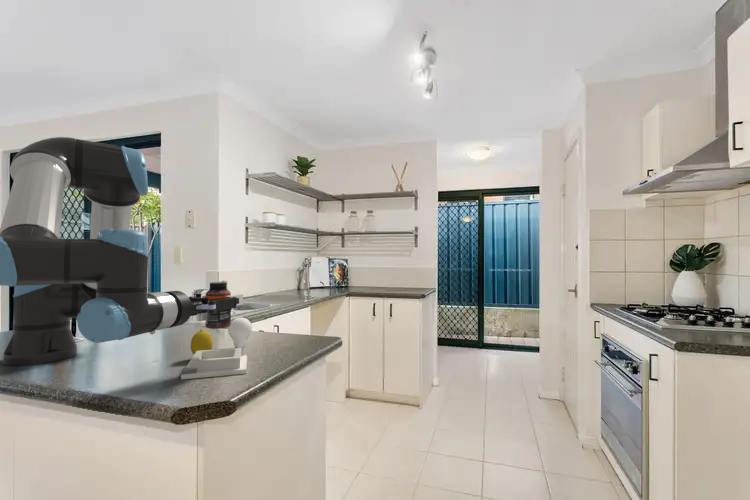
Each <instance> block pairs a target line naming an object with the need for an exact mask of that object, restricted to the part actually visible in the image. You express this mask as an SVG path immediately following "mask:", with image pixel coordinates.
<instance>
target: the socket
mask: <svg viewBox="0 0 750 500" xmlns="http://www.w3.org/2000/svg"><path fill="white" fill-rule="evenodd" d="M247 366H248V354H244V355H242V356H241V348H235V347H233V348H218V349H217V348H216V349H211V350H200V351H196V353H195V354H193V356H192V357H191V359H190V361H189V362H188V364H187V365H186V367H184V368H182V370H181V374H180V380H190V379H191V380H192V379H201V378H203V379H204V378H211V377H212V378H213V377H223V376H234V375H244V374H245V375H246V374H247V368H248V367H247Z"/></svg>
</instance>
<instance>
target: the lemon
mask: <svg viewBox="0 0 750 500" xmlns="http://www.w3.org/2000/svg"><path fill="white" fill-rule="evenodd" d="M213 343H214V341H213V338H212V335H211V334H210V332H208V331H206V330H204V329H200V330H199V331H197V332H195V334H193V336H192V338H191V339H190V350H191V351H190V352H192V354H193V355H194V354H195V353H196V351H200V350H213V349H212V348H213Z"/></svg>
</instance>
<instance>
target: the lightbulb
mask: <svg viewBox="0 0 750 500" xmlns="http://www.w3.org/2000/svg"><path fill="white" fill-rule="evenodd" d="M227 330H228V335H229V337H230V338H231V340H232V342H233V346H234V348H241V356H242V355H246V344H247V340H248V338H250V335H251V334H252V331H253V326H252V323H251V322H250V320H249V319H247V318H245V317H236V318H233V320H231V325H230V326H228V327H227Z"/></svg>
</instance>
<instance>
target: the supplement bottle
mask: <svg viewBox="0 0 750 500" xmlns="http://www.w3.org/2000/svg"><path fill="white" fill-rule="evenodd" d="M227 285H228V283H227V281H215V282H210V283H209V289H208V291H206V293H205V296H206V298H208V299H216V298H226V296H232V294H231V291H230V290H228V286H227ZM204 315H205V317H204V320H205V321H204V322H205V323H204V324H205V328H206V329H210V330H216V329H224V328H228V327H229V326H230V325H231V322H232V309H231V310H222V311H217V312H214V313H208V312H207V313H204Z"/></svg>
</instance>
